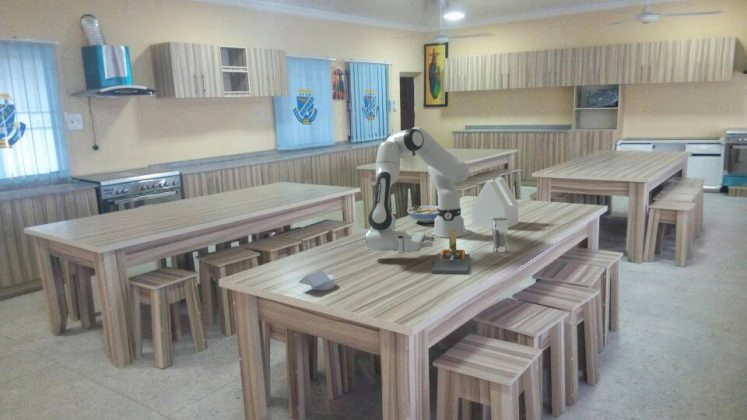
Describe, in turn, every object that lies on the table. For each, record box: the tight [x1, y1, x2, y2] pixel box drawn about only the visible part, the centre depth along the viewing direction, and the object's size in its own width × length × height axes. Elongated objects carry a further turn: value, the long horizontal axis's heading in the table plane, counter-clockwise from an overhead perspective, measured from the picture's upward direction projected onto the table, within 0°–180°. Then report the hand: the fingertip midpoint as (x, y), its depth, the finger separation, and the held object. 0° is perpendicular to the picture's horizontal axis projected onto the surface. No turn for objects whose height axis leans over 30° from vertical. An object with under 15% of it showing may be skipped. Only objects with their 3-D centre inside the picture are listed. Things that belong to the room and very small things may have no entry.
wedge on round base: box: [298, 269, 335, 291], centre depth 208 cm, size 9×7×13 cm
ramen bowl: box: [406, 203, 438, 224], centre depth 312 cm, size 25×23×8 cm
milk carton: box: [471, 177, 519, 229], centre depth 297 cm, size 19×15×25 cm
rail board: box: [431, 248, 471, 275], centre depth 230 cm, size 24×14×4 cm, turn 168°
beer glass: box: [491, 218, 509, 254], centre depth 245 cm, size 7×7×15 cm
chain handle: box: [446, 230, 460, 261], centre depth 233 cm, size 12×6×11 cm, turn 168°
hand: (433, 241), depth 238 cm, fingers open, 8 cm apart
